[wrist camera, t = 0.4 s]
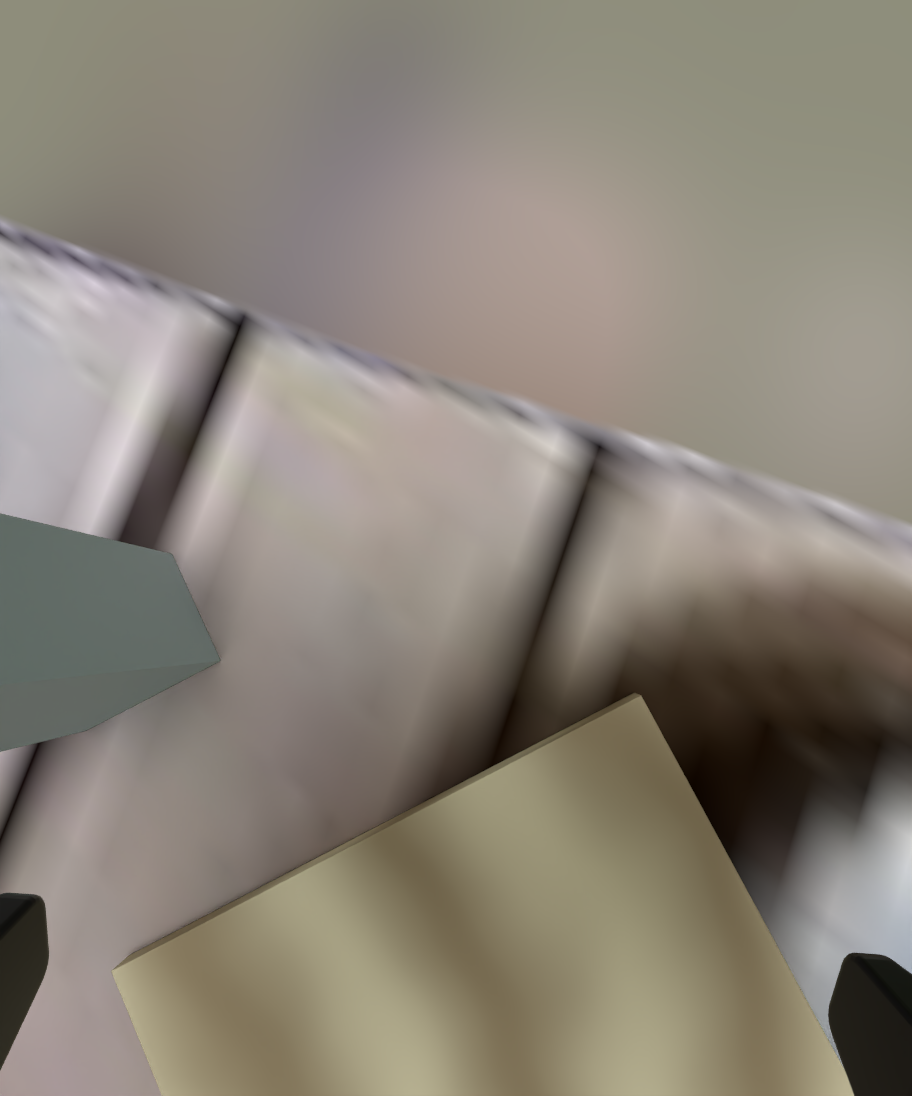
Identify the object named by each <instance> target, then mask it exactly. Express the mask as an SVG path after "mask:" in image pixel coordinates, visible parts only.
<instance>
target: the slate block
mask: <svg viewBox="0 0 912 1096" xmlns="http://www.w3.org/2000/svg"><path fill="white" fill-rule="evenodd" d="M219 661H221V660H220V658H219V656H218V654H217V652H216V649H215V647H214V645H213V643H212V641H211V638H210V636H209V634H208V632H207V630H206V627H205V625H204V623H203V621H202V619H201V616H200V614H199V612H198V610H197V608H196V606H195V603H194V601H193V599H192V597H191V595H190V592H189V590H188V588H187V586H186V584H185V581H184V579H183V577H182V575H181V573H180V571H179V568H178V566H177V564H176V562H175V560H174V557H173V555H172V554H170V553H166V552H161V551H157V550H153V549H149V548H144V547H140V546H136V545H132V544H127V543H123V542H119V541H115V540H111V539H106V538H102V537H98V536H94V535H89V534H85V533H81V532H77V531H72V530H68V529H64V528H60V527H55V526H51V525H47V524H43V523H38V522H34V521H30V520H26V519H21V518H17V517H13V516H9V515H5V514H0V752H1V751H5V750H9V749H13V748H17V747H21V746H26V745H30V744H34V743H38V742H42V741H46V740H50V739H54V738H58V737H63V736H67V735H71V734H75V733H79V732H83V731H87V730H89V729H90V728H92V727H94V726H96V725H98V724H100V723H102V722H104V721H106V720H108V719H110V718H112V717H114V716H115V715H117V714H119V713H121V712H123V711H125V710H127V709H129V708H131V707H133V706H135V705H137V704H139V703H141V702H142V701H144V700H146V699H148V698H150V697H152V696H154V695H156V694H158V693H160V692H162V691H164V690H166V689H167V688H169V687H171V686H173V685H175V684H177V683H179V682H181V681H183V680H185V679H187V678H189V677H191V676H192V675H194V674H196V673H198V672H200V671H202V670H204V669H206V668H208V667H210V666H212V665H214V664H216V663H218V662H219Z"/></svg>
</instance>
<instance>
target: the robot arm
mask: <svg viewBox="0 0 912 1096" xmlns="http://www.w3.org/2000/svg"><path fill="white" fill-rule="evenodd" d="M48 959H49V947H48V934H47V921H46V908H45V903H44V901H43V899H42V898H41V897H40V896H38V895H34V894H19V893H3V894H0V1070H1V1068H2V1066H3V1064H4V1062H5V1059H6V1057H7V1055H8V1053H9V1051H10V1049H11V1047H12V1044H13V1042H14V1040H15V1038H16V1036H17V1034H18V1032H19V1030H20V1027H21V1025H22V1023H23V1021H24V1019H25V1017H26V1015H27V1013H28V1010H29V1008H30V1006H31V1004H32V1002H33V1000H34V998H35V995H36V993H37V991H38V989H39V987H40V985H41V983H42V980H43V978H44V975H45V972H46V969H47V965H48ZM828 1017H829V1025H830V1029H831V1033H832V1036H833V1039H834V1042H835V1044H836V1047H837V1050H838V1053H839V1055H840V1058H841V1061H842V1064H843V1066H844V1069H845V1072H846V1075H847V1077H848V1080H849V1083H850V1086H851V1088H852V1091H853V1094H854V1096H912V974H911V973H909V972H908V971H907V970H905V969H904V968H903V967H901V966H900V965H899V964H897V963H896V962H895V961H893V960H892V959H890V958H888V957H886V956H883V955H878V954H865V953H851V954H849V955H847V956H846V957H845V958H844V960H843V962H842V965H841V969H840V972H839V975H838V978H837V982H836V985H835V988H834V991H833V995H832V998H831V1001H830V1005H829V1014H828Z"/></svg>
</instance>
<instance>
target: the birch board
mask: <svg viewBox="0 0 912 1096" xmlns="http://www.w3.org/2000/svg"><path fill="white" fill-rule="evenodd" d="M111 972H112V974H113V977H114V979H115V982H116V984H117V986H118V989H119V991H120V994H121V996H122V999H123V1001H124V1004H125V1006H126V1009H127V1011H128V1013H129V1016H130V1018H131V1021H132V1023H133V1026H134V1028H135V1031H136V1033H137V1036H138V1038H139V1041H140V1043H141V1045H142V1048H143V1050H144V1053H145V1055H146V1058H147V1060H148V1063H149V1065H150V1068H151V1070H152V1072H153V1075H154V1077H155V1080H156V1082H157V1085H158V1087H159V1090H160V1092H161V1095H162V1096H854V1094H853V1091H852V1088H851V1086H850V1083H849V1080H848V1077H847V1075H846V1072H845V1070H844V1068H843V1066H842V1065H841V1063H840V1061H839V1059H838V1057H837V1055H836V1054H835V1052H834V1050H833V1048H832V1046H831V1044H830V1043H829V1041H828V1039H827V1037H826V1035H825V1033H824V1031H823V1030H822V1028H821V1026H820V1024H819V1022H818V1020H817V1019H816V1017H815V1015H814V1013H813V1011H812V1009H811V1008H810V1006H809V1004H808V1002H807V1000H806V998H805V996H804V995H803V993H802V991H801V989H800V987H799V985H798V984H797V982H796V980H795V978H794V976H793V974H792V973H791V971H790V969H789V967H788V965H787V963H786V961H785V960H784V958H783V956H782V954H781V952H780V950H779V949H778V947H777V945H776V943H775V941H774V939H773V938H772V936H771V934H770V932H769V930H768V928H767V926H766V925H765V923H764V921H763V919H762V917H761V915H760V914H759V912H758V910H757V908H756V906H755V904H754V903H753V901H752V899H751V897H750V895H749V893H748V891H747V890H746V888H745V886H744V884H743V882H742V880H741V879H740V877H739V875H738V873H737V871H736V869H735V868H734V866H733V864H732V862H731V860H730V858H729V856H728V855H727V853H726V851H725V849H724V847H723V845H722V844H721V842H720V840H719V838H718V836H717V834H716V833H715V831H714V829H713V827H712V825H711V823H710V821H709V820H708V818H707V816H706V814H705V812H704V810H703V809H702V807H701V805H700V803H699V801H698V799H697V798H696V796H695V794H694V792H693V790H692V788H691V786H690V785H689V783H688V781H687V779H686V777H685V775H684V774H683V772H682V770H681V768H680V766H679V764H678V763H677V761H676V759H675V757H674V755H673V753H672V751H671V750H670V748H669V746H668V744H667V742H666V740H665V739H664V737H663V735H662V733H661V731H660V729H659V728H658V726H657V724H656V722H655V720H654V718H653V716H652V715H651V713H650V711H649V709H648V707H647V705H646V704H645V702H644V700H643V698H642V696H641V695H639V694H637V693H633V694H631V695H629V696H627V697H625V698H623V699H621V700H619V701H617V702H615V703H614V704H612V705H610V706H608V707H606V708H604V709H602V710H600V711H598V712H596V713H594V714H592V715H590V716H589V717H587V718H585V719H583V720H581V721H579V722H577V723H575V724H573V725H571V726H569V727H567V728H565V729H564V730H562V731H560V732H558V733H556V734H554V735H552V736H550V737H548V738H546V739H544V740H542V741H540V742H539V743H537V744H535V745H533V746H531V747H529V748H527V749H525V750H523V751H521V752H519V753H517V754H515V755H514V756H512V757H510V758H508V759H506V760H504V761H502V762H500V763H498V764H496V765H494V766H492V767H491V768H489V769H487V770H485V771H483V772H481V773H479V774H477V775H475V776H473V777H471V778H469V779H467V780H466V781H464V782H462V783H460V784H458V785H456V786H454V787H452V788H450V789H448V790H446V791H444V792H442V793H441V794H439V795H437V796H435V797H433V798H431V799H429V800H427V801H425V802H423V803H421V804H419V805H417V806H416V807H414V808H412V809H410V810H408V811H406V812H404V813H402V814H400V815H398V816H396V817H394V818H393V819H391V820H389V821H387V822H385V823H383V824H381V825H379V826H377V827H375V828H373V829H371V830H369V831H368V832H366V833H364V834H362V835H360V836H358V837H356V838H354V839H352V840H350V841H348V842H346V843H344V844H343V845H341V846H339V847H337V848H335V849H333V850H331V851H329V852H327V853H325V854H323V855H321V856H319V857H318V858H316V859H314V860H312V861H310V862H308V863H306V864H304V865H302V866H300V867H298V868H296V869H295V870H293V871H291V872H289V873H287V874H285V875H283V876H281V877H279V878H277V879H275V880H273V881H271V882H270V883H268V884H266V885H264V886H262V887H260V888H258V889H256V890H254V891H252V892H250V893H248V894H246V895H245V896H243V897H241V898H239V899H237V900H235V901H233V902H231V903H229V904H227V905H225V906H223V907H221V908H220V909H218V910H216V911H214V912H212V913H210V914H208V915H206V916H204V917H202V918H200V919H198V920H196V921H195V922H193V923H191V924H189V925H187V926H185V927H183V928H181V929H179V930H177V931H175V932H173V933H172V934H170V935H168V936H166V937H164V938H162V939H160V940H158V941H156V942H154V943H152V944H150V945H148V946H147V947H145V948H143V949H141V950H139V951H137V952H135V953H133V954H131V955H129V956H128V957H127V958H126V959H125V960H123V961H122V962H121V963H120V964H119V965H118V966H117V967H115V968H114V969H113V970H112V971H111Z"/></svg>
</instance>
